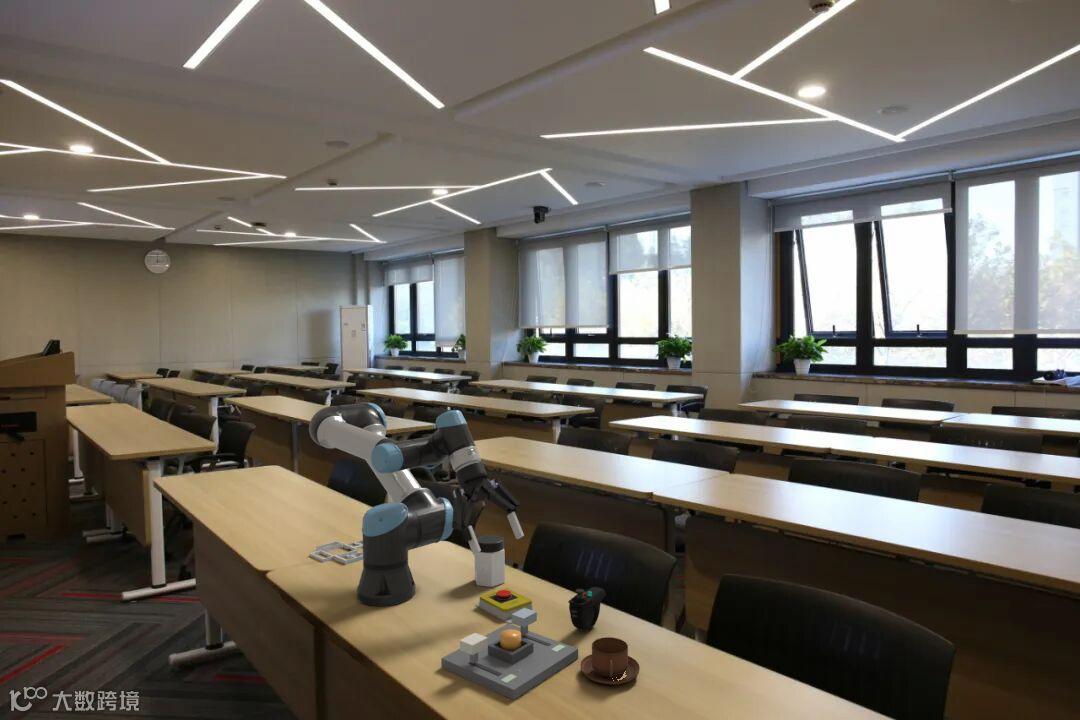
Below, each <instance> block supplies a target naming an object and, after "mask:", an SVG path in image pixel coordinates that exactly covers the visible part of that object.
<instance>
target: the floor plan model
mask: <svg viewBox="0 0 1080 720" xmlns="http://www.w3.org/2000/svg"><path fill="white" fill-rule="evenodd" d="M361 543H362V544H361ZM315 547H316V551H314V552H310V553H309V557H310V558H313V559H316V560H318V561H319V562H322V563H325V562H328V561H331V560H332V561H333V560H334V561H337V562H339V563H342V564H343V563H344V565H346V564H347V565H349V564H350V565H351V564H353V562H354V563H358V562H361V561H363V551H360V552H358V551H359V550H358V549H363V539H361V540H357V541H354V542H349V543H344V542H341V541H338V540H336V541H332V542H328V543H324V544H319V545H316V546H315ZM342 548H344V549H345V550H347V552H343V553H338V554H337V555H336V554H331V553H329V552H330V551H333V550H337V549H338V550H339V549H340V551H343V549H342ZM318 555H323V556H325V557H321V556H318ZM346 558H347V559H346Z"/></svg>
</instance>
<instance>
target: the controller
mask: <svg viewBox="0 0 1080 720" xmlns="http://www.w3.org/2000/svg"><path fill="white" fill-rule="evenodd" d="M575 593H576V594H575V595H574V596H573V597H572V598H570V599H569V600H568V601H567V602H568V604H569V605H568V609H569V615H570V621H571V623H572V626H573V627H574V628H576V629H577V630H580V631H586V632H587V631H590V630H591V629H593V628H594V626H595V625H596V623H597V622H598V619H599V615H600V611H601V603H602V600H603V599H604V598H605V597H606V596H607V593H606V591H605V589H604V588H603V587H599V586H591V587H590V588H588V589H586V590H585V589H583V588H576V589H575Z"/></svg>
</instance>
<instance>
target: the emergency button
mask: <svg viewBox="0 0 1080 720" xmlns="http://www.w3.org/2000/svg"><path fill="white" fill-rule="evenodd" d="M475 606H476V607H478V608H479V609H482V610H483V611H485V612H486V613H488V614H490V615H492V616H494V617H496V618H498V619H499V620H501V621H503V622H505V623H507V624H513V623H512V614H513V613H515V612H517V611H519V610H521V609H523V608H526V609H529V610H532V611H535V612H537V615H538V614H539V612H538V611H537V610H535V609H534V608H533V600H532V599H531V598H529V597H527V596H525V595H523V594H521V593H519V592H516V591H514V590H512V589H510V588H509V587H504V588H500V589H497V590H494V591H491V592H487V593H484V594H480V595H479V602H476V604H475Z"/></svg>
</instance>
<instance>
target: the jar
mask: <svg viewBox="0 0 1080 720" xmlns="http://www.w3.org/2000/svg"><path fill="white" fill-rule="evenodd" d="M476 539H477V541H478V544H479V546H480V549H481V551H480V552H478V553H477V554H474V555H473V556H474V581H475V584H476V586H481V587H489V588H493V587H496V586H499V585H502V584H505V582H506V576H505V575H506V571H505V570H506V569H505V568H506V567H505V564H506V563H505V562H506V560H505V557H506V554H505V545H504V544H505V540H504V539H505V538H504V537H503V536H501V535H497V534H484V535H479V536H476Z"/></svg>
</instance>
